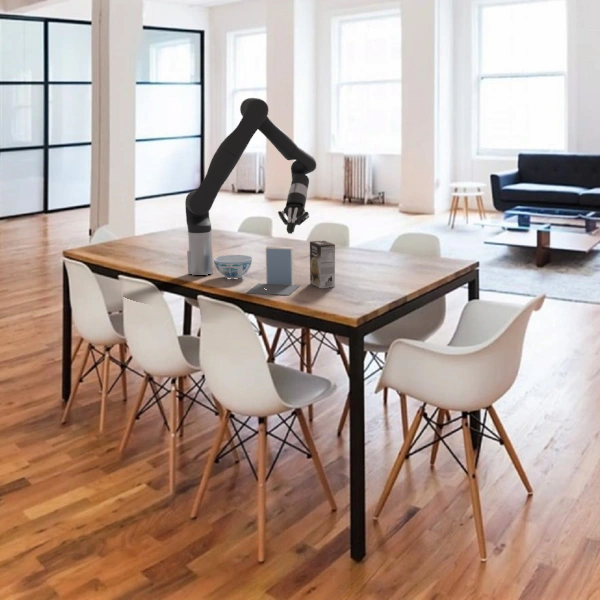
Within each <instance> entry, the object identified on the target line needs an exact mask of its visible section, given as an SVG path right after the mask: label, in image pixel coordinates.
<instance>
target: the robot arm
mask: <svg viewBox="0 0 600 600" xmlns="http://www.w3.org/2000/svg"><path fill="white" fill-rule="evenodd" d="M239 111H240V115H241V116H242V117H241V119H240V121H239V123H238V125H237V126H236V128H234V130H232V132H231V133H229V134H228V135H227V136H226V137H225V138H224V140H223V141H221V143H220V145H218V148H217V149H216V151H215V153H214V154H213V156H212V158H211V160H210V163H209V166H208V169H207V172H206V174H205V177H204V178H203V180H202V182H201V183H200V185H199V186H198V187H197V189H196V190H191V191H190V192H188V194H187V195H186V197H185V202H184V203H185V217H186V218H185V219H186V220H185V221H186V225H187V226H186V227H187V238H188V250H187V251H186V255H187V259H186V260H187V275H188V274H192V275H191V276H194V275H206V276H209V275H208V274H211V275H213V274H214V256H213V237H212V223H211V221H210V219H211V218H210V210H211V209H212V206H213V204H214V202H215V200H216V198H217V196H218V194H219V193H220V192H219V191H220V190H221V188H222V187H223V185H224V184H225V182H226V181H227V180H228V178H229V176H230V175H231V173H233V172H232V171H233V170H234V169H235V167H236V166H237V164H238V162H239V161H240V159H241V157H242V155H243V153H244V152H245V151H246V148H248V145H249V144H250V142H251V140H252V138H253V137H254V135H255V134H256V132H257V131H259V132H260V133H262V134H263V136H265V138H266V139H267V140H268V141H269V142H270V143H271V144H272V145H273V146H274V148H275V149H276V150H277V151H278V152H279V154H281V155H282V157H284V159H286V160H287V161H293V162H292V164H291V165H290V170H291V171H290V172H291V181H290V182H291V184H290V187H289V190H288V192H287V193H288V194H287V199H286V204H285V207H284V208H283V210H281V211H280V210H279V211H277V214H278V216H279V218H280V220H281V221H282V222H283V224H284V225H285V226H286V232H287V233H288V234H290V235H292V234H293V233H294V232H295V228H296V226H300V225H301V224H304V223H305V221H307V220H308V219H309V218H310V213H309V212H308V211H306V210H305V208H306V204H307V203H306V202H307V199H308V189H309V185H310V178H309V177H308V174H311V173H313V172H314V171H315V170H316V169H317V161H316V159H315V158H314V156H312V155H311V154H310V153H309V152H307V151H305V150H304V149H302V148H301V147H299V146H298V145H297V144H296V142H295V141H294V140H293V139H292V138H291V137H290V136H289V135H288V134H287V133H286V132H284V130H282V129H281V128H280V127H279V126H277V125H276V124H275V122H273V121H272V120H271V119H270V117H269V116H268V115H269V105H268V103H267V102H266V101H265V100H264V99H262V98H259V97H256V98H255V97H248V98H246V99H244V100H243V101H242V102H241V104H240V108H239ZM285 215H286V217H287V218H286V217H285ZM212 273H213V274H212Z"/></svg>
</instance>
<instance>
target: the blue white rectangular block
mask: <svg viewBox="0 0 600 600" xmlns="http://www.w3.org/2000/svg"><path fill="white" fill-rule="evenodd" d="M294 259H295V258H294V247H292V246H291V247H289V246H266V247H265V269H266V271H265V274H266V284H283V285H295V272H294V271H295V268H294V266H295V265H294V264H295V263H294Z"/></svg>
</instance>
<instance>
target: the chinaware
mask: <svg viewBox="0 0 600 600" xmlns="http://www.w3.org/2000/svg"><path fill="white" fill-rule="evenodd" d="M252 262H253V257H252V256H250V255H244V254H225V255H219V256H216V257H213V264H214V266H215V268H216V270H217V271H218V272H219V273H220V274H221V275H223V276H224V278H225V279H226V278H231V279H234V278H241V277H242V278H243V276H244V275H245V274H247V272H248V271H249V269H250V268H251V266H252ZM242 278H241V279H242Z"/></svg>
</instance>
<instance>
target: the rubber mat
mask: <svg viewBox="0 0 600 600" xmlns="http://www.w3.org/2000/svg"><path fill="white" fill-rule="evenodd" d="M299 287H300V285H299V284H293V285H283V284H267V283H257V284H255V285H254V286H253V287H252V288H250V289H249V290H247V291H246V292H245V294H246V293H258V294H257V295H266V294H278V295H277V296H286V295H289V296H290V295H292V294H293V293H294V292H295V291H296V290H297V289H298V288H299ZM264 288H265V289H267V290H265V289H264ZM296 288H297V289H296ZM295 289H296V290H295ZM294 290H295V291H294ZM293 291H294V292H293ZM292 292H293V293H292Z"/></svg>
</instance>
